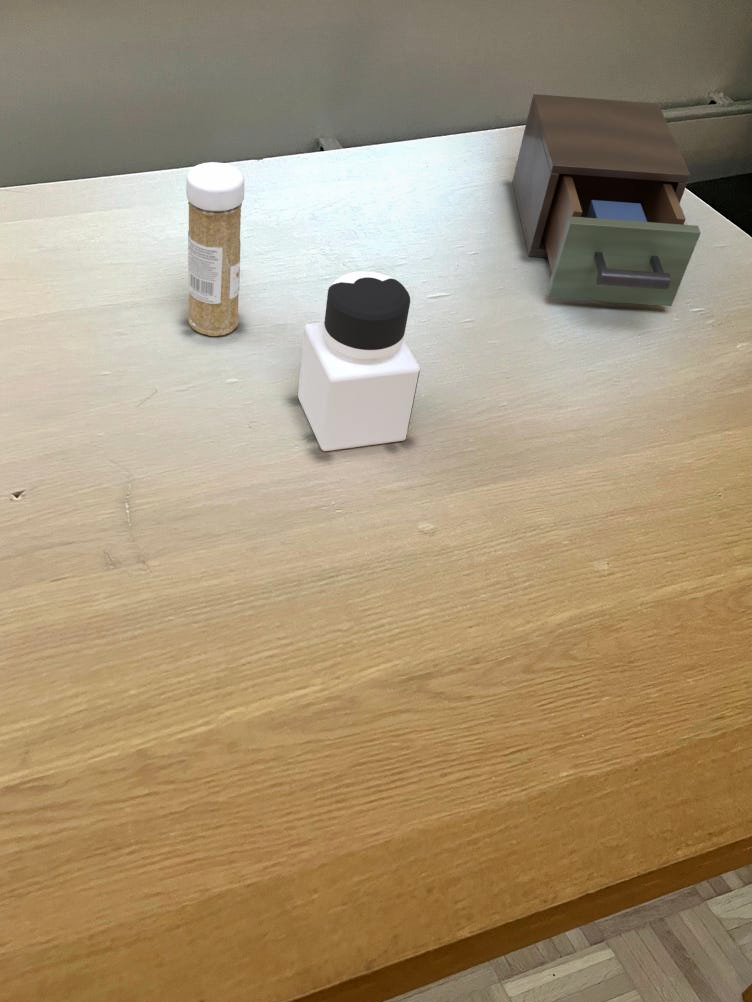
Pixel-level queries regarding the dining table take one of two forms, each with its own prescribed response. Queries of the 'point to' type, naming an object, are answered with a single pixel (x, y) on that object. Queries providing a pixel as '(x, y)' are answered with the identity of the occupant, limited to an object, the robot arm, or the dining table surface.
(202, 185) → the spice jar
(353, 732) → the dining table surface
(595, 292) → the drawer
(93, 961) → the dining table surface
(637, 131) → the cabinet
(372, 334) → the medicine bottle
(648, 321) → the dining table surface
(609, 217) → the block
